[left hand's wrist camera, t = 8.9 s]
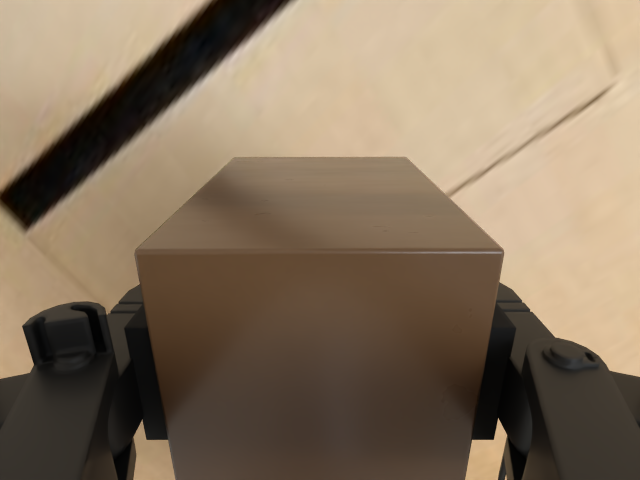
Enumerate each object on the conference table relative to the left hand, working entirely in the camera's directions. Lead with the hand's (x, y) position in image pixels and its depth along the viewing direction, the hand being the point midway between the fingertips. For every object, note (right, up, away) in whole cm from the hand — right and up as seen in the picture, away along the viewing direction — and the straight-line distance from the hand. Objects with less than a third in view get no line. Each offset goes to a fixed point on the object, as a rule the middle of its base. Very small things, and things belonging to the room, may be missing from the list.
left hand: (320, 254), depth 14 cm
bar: (0, -8, +4) cm, 9 cm away
